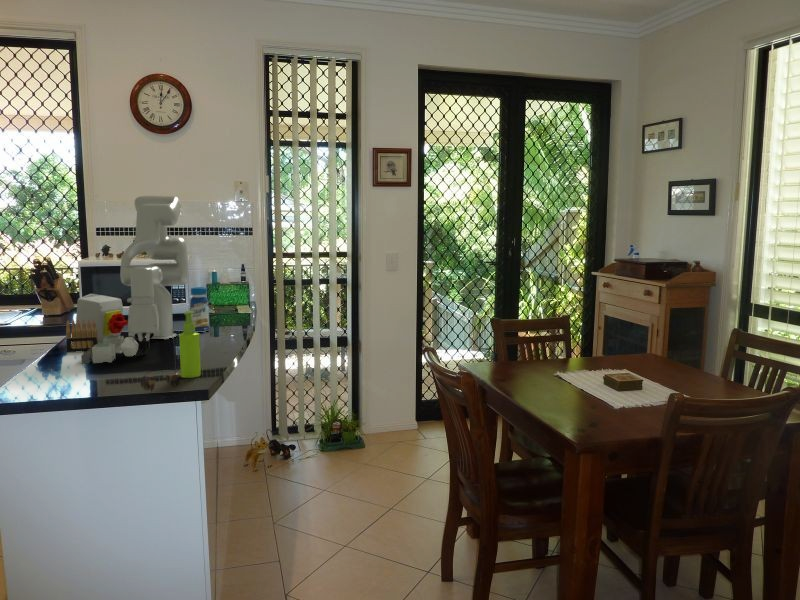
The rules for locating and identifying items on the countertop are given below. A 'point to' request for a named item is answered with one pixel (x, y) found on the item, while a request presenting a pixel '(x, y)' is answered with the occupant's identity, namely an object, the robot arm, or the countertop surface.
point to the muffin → (129, 346)
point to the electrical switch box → (101, 314)
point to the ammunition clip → (80, 336)
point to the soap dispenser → (189, 349)
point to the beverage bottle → (200, 308)
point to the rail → (104, 350)
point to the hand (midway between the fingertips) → (145, 351)
